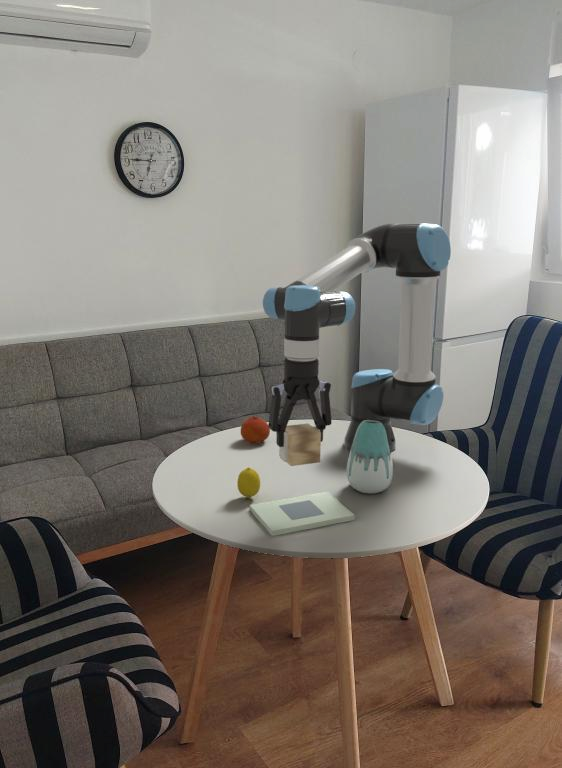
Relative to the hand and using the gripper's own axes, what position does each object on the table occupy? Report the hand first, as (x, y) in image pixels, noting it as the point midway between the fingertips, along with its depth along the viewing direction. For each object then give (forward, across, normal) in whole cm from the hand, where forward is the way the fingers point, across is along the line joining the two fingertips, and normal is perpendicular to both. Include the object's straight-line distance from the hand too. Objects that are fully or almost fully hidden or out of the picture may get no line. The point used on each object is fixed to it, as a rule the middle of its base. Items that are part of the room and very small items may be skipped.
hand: (299, 457), depth 145 cm
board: (+14, 0, +1) cm, 14 cm away
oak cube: (0, 0, 0) cm, 0 cm away
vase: (+14, -22, -7) cm, 27 cm away
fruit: (+14, -8, -50) cm, 53 cm away
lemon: (+14, +8, -12) cm, 20 cm away
